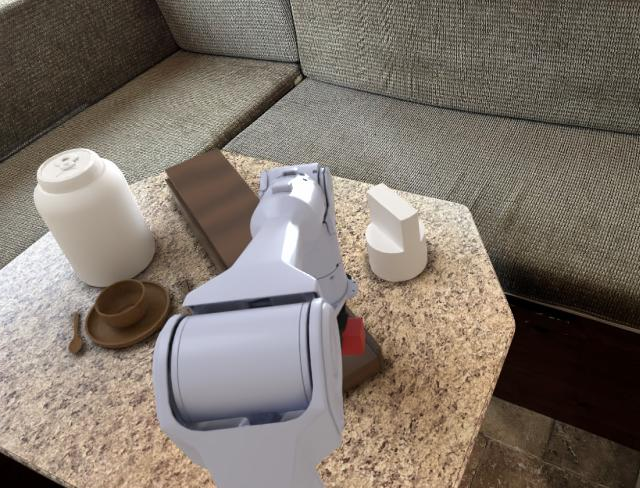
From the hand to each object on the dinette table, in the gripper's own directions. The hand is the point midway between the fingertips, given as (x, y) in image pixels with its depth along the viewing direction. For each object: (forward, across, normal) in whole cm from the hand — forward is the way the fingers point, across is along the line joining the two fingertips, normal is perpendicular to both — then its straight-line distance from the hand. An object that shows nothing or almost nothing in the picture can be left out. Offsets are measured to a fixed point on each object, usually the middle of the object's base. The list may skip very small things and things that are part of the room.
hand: (334, 338), depth 73 cm
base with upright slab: (+9, +21, -6) cm, 24 cm away
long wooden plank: (+8, +20, +15) cm, 27 cm away
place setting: (+9, +8, +31) cm, 33 cm away
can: (+9, +23, +40) cm, 47 cm away
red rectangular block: (+1, 0, 0) cm, 1 cm away
